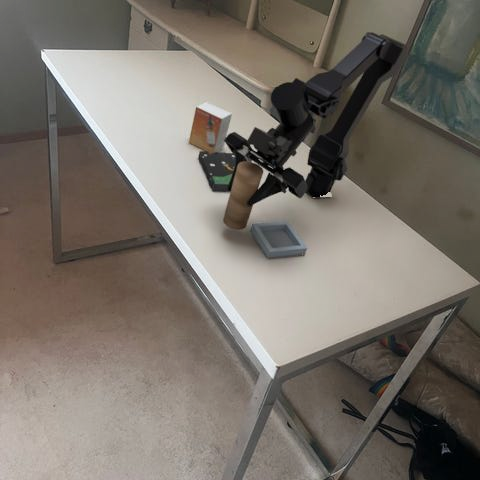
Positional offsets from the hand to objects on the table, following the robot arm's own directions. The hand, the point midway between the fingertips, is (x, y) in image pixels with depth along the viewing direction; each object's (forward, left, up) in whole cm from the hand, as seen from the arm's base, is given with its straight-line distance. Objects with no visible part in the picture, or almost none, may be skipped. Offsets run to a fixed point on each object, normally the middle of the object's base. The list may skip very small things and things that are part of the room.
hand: (238, 198), depth 89 cm
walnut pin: (-1, -1, -7) cm, 7 cm away
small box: (-8, -37, -10) cm, 39 cm away
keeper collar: (-10, +3, -10) cm, 15 cm away
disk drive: (-8, -23, -10) cm, 26 cm away
